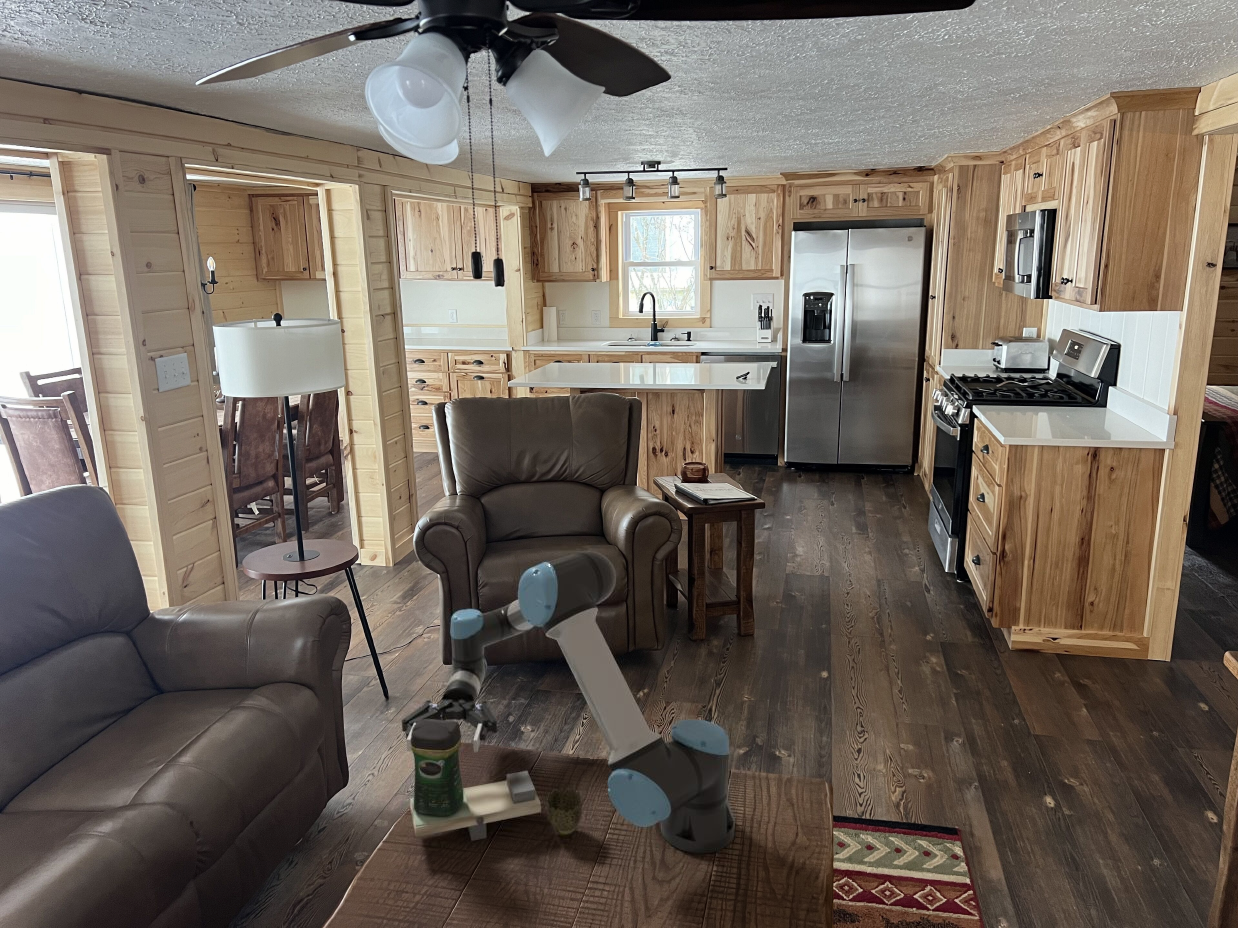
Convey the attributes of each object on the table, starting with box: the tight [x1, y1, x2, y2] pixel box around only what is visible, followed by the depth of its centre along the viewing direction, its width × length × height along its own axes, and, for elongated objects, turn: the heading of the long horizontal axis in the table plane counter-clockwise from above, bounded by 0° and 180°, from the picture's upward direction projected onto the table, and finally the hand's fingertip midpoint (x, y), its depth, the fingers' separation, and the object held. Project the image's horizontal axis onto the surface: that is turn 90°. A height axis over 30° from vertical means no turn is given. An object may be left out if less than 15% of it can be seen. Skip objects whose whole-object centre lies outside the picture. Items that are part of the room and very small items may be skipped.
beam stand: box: [467, 823, 487, 842], centre depth 176 cm, size 7×3×4 cm, turn 19°
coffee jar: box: [410, 719, 464, 817], centre depth 171 cm, size 10×8×19 cm
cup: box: [545, 787, 584, 837], centre depth 175 cm, size 8×7×8 cm
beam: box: [409, 770, 542, 838], centre depth 175 cm, size 11×25×4 cm, turn 109°
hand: (441, 745), depth 176 cm, fingers open, 13 cm apart
